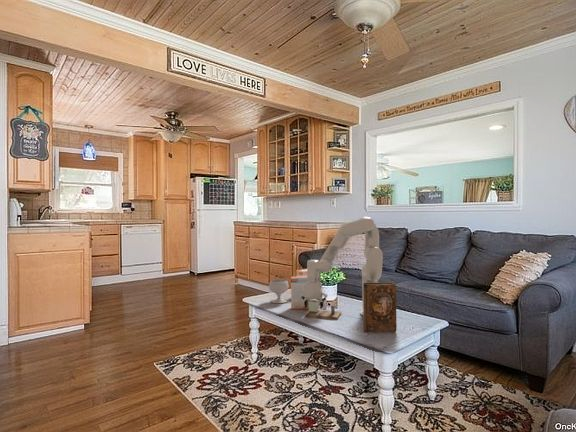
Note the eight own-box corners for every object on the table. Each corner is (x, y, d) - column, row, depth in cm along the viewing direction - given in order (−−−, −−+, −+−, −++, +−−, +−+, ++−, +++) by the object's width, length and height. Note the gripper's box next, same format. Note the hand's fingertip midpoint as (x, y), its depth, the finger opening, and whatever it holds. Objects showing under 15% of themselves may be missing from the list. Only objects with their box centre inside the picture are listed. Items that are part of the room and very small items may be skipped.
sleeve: (319, 311, 218) (318, 300, 218) (316, 313, 213) (316, 302, 213) (310, 310, 220) (310, 299, 220) (308, 313, 215) (308, 301, 215)
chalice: (282, 305, 239) (282, 283, 239) (265, 302, 246) (265, 281, 246) (292, 300, 251) (292, 279, 251) (275, 298, 258) (275, 278, 258)
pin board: (341, 314, 217) (341, 303, 217) (337, 319, 205) (337, 308, 205) (310, 311, 223) (310, 301, 223) (304, 316, 212) (304, 306, 212)
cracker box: (313, 307, 233) (312, 276, 233) (312, 309, 227) (312, 277, 227) (291, 307, 234) (291, 275, 234) (291, 309, 228) (290, 277, 228)
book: (365, 333, 183) (364, 285, 182) (362, 329, 188) (362, 283, 188) (396, 332, 183) (396, 284, 183) (393, 328, 189) (392, 282, 188)
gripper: (328, 279, 217) (328, 307, 217) (301, 278, 223) (302, 305, 223) (325, 281, 210) (326, 310, 210) (298, 280, 216) (298, 308, 216)
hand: (313, 307), depth 216 cm, fingers open, 9 cm apart
